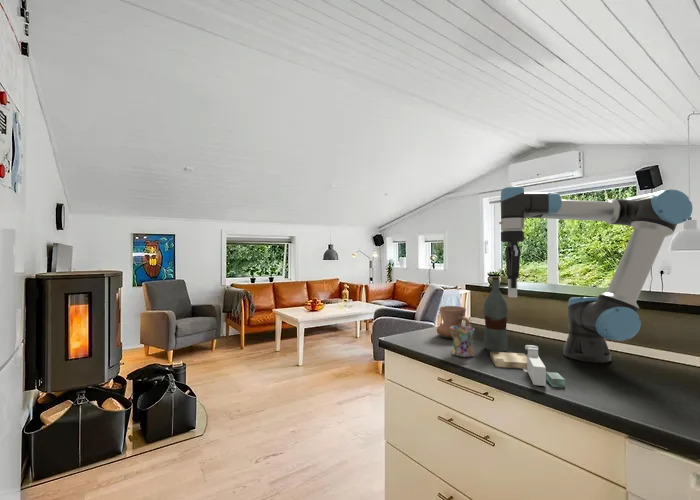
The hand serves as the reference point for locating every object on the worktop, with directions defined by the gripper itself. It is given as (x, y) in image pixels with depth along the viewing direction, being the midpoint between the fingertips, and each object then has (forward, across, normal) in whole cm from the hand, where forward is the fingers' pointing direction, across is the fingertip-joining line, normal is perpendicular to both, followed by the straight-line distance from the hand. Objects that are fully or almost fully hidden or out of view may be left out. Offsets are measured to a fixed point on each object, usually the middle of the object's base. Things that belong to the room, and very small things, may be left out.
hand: (512, 297), depth 124 cm
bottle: (+25, -22, -2) cm, 33 cm away
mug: (+25, -11, -17) cm, 32 cm away
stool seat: (+24, +4, +2) cm, 25 cm away
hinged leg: (+24, +11, +4) cm, 27 cm away
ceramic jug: (+25, -39, -18) cm, 50 cm away
